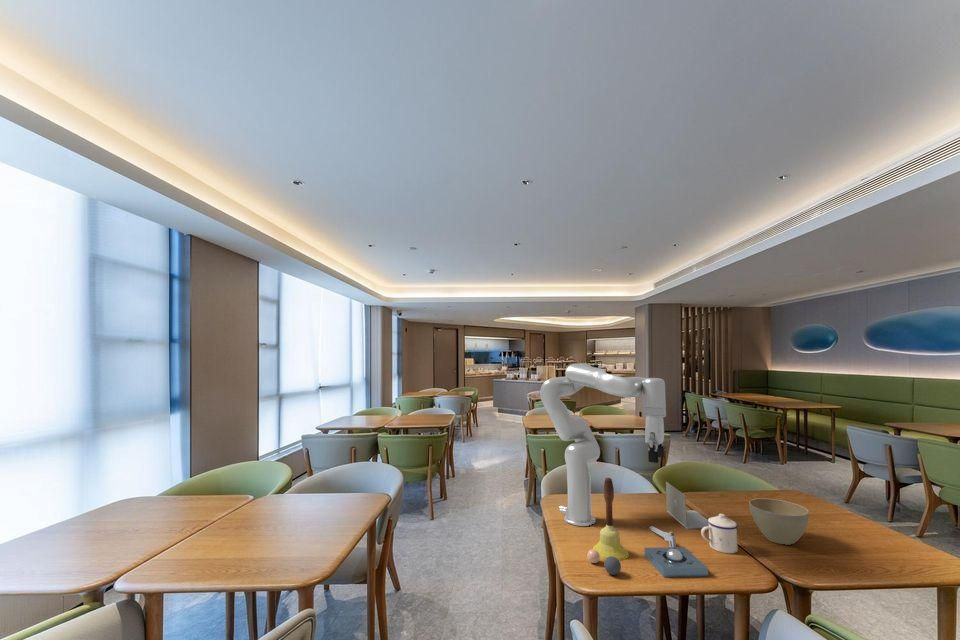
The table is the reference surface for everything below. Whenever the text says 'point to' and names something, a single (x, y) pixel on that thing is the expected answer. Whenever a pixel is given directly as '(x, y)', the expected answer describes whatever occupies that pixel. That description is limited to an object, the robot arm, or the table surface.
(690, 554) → the housing plate
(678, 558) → the steel ball
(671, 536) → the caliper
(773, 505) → the grey beige bowl
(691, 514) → the laptop
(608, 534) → the handbell
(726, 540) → the teacup with lid
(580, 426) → the robot arm
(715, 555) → the table surface
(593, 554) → the pink ball
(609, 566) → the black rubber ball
